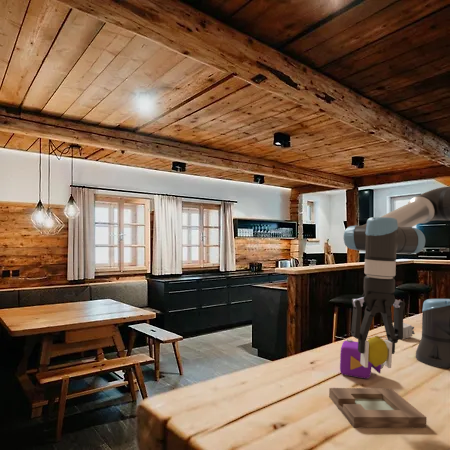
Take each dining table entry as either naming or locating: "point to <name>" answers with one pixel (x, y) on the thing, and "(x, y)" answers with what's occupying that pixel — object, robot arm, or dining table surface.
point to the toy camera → (354, 361)
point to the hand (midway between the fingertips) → (375, 365)
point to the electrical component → (406, 331)
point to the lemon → (377, 351)
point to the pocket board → (376, 408)
